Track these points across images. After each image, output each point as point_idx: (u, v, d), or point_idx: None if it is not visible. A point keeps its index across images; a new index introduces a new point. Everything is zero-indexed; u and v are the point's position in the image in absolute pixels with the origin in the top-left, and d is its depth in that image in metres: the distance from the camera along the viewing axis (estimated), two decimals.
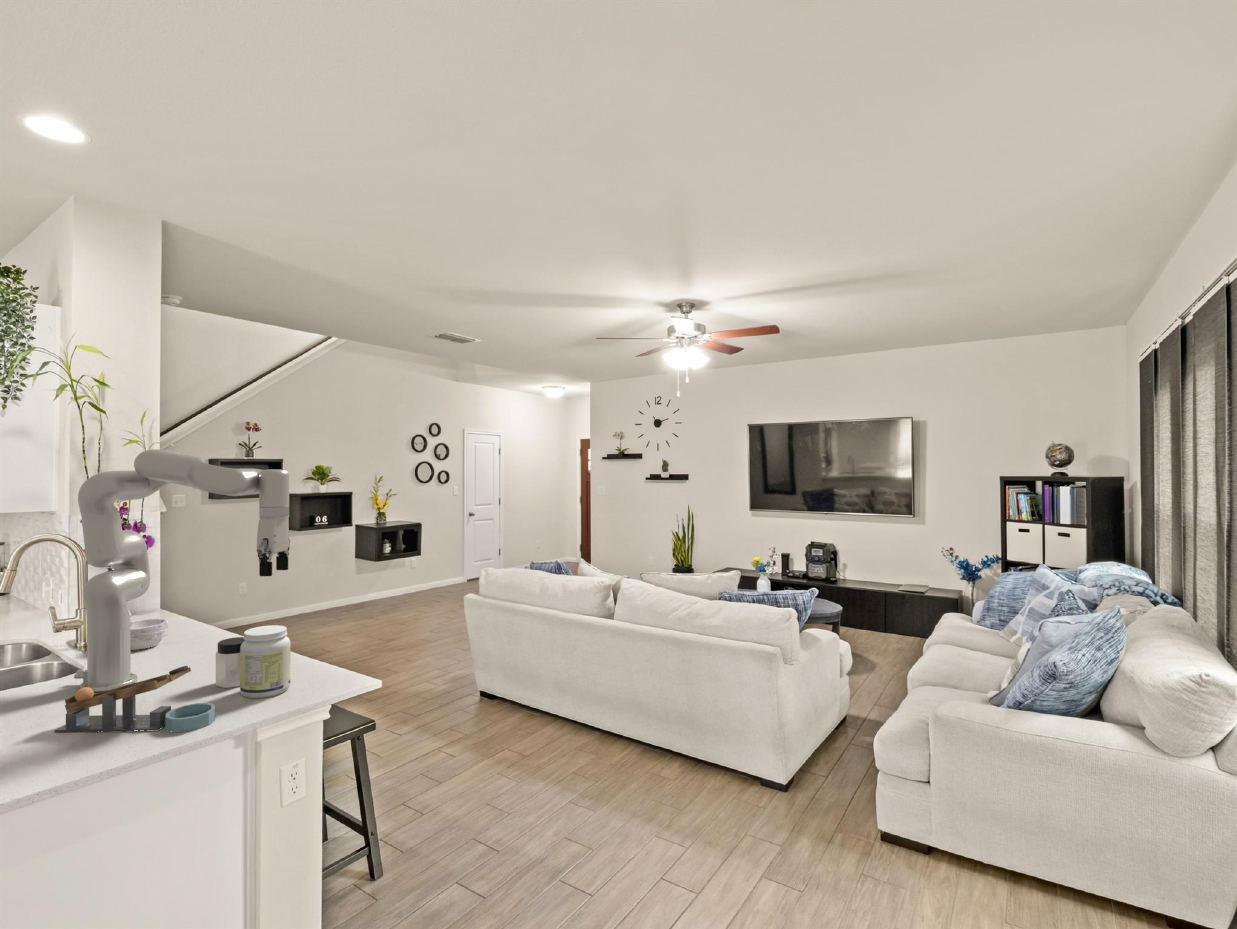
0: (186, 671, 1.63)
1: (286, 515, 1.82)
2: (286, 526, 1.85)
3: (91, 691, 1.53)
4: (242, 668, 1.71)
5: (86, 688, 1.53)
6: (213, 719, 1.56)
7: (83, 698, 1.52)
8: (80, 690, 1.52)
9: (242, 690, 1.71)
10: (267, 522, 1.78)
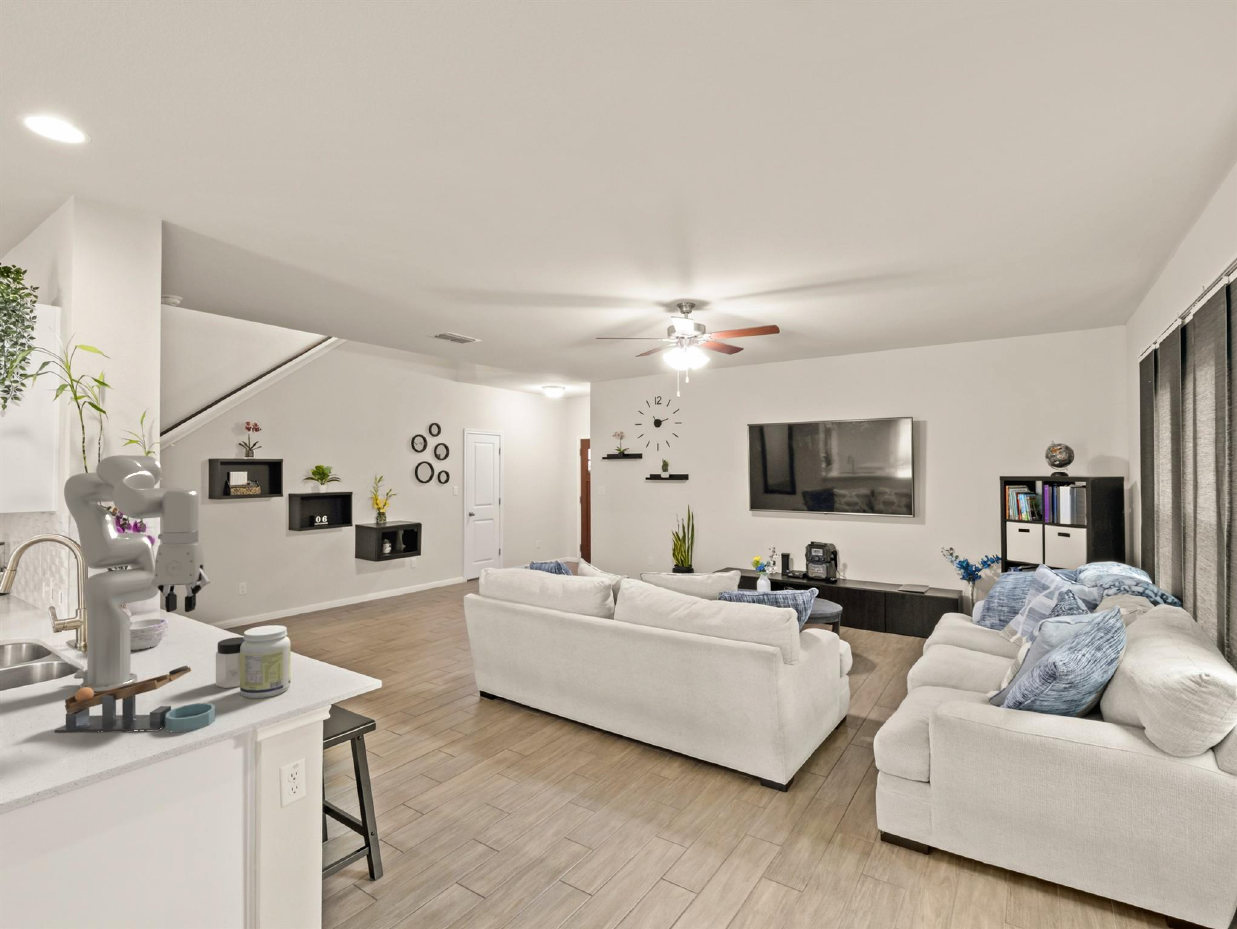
0: (186, 671, 1.63)
1: None
2: None
3: (91, 691, 1.53)
4: (242, 668, 1.71)
5: (86, 688, 1.53)
6: (213, 719, 1.56)
7: (83, 698, 1.52)
8: (80, 690, 1.52)
9: (242, 690, 1.71)
10: (200, 547, 1.63)
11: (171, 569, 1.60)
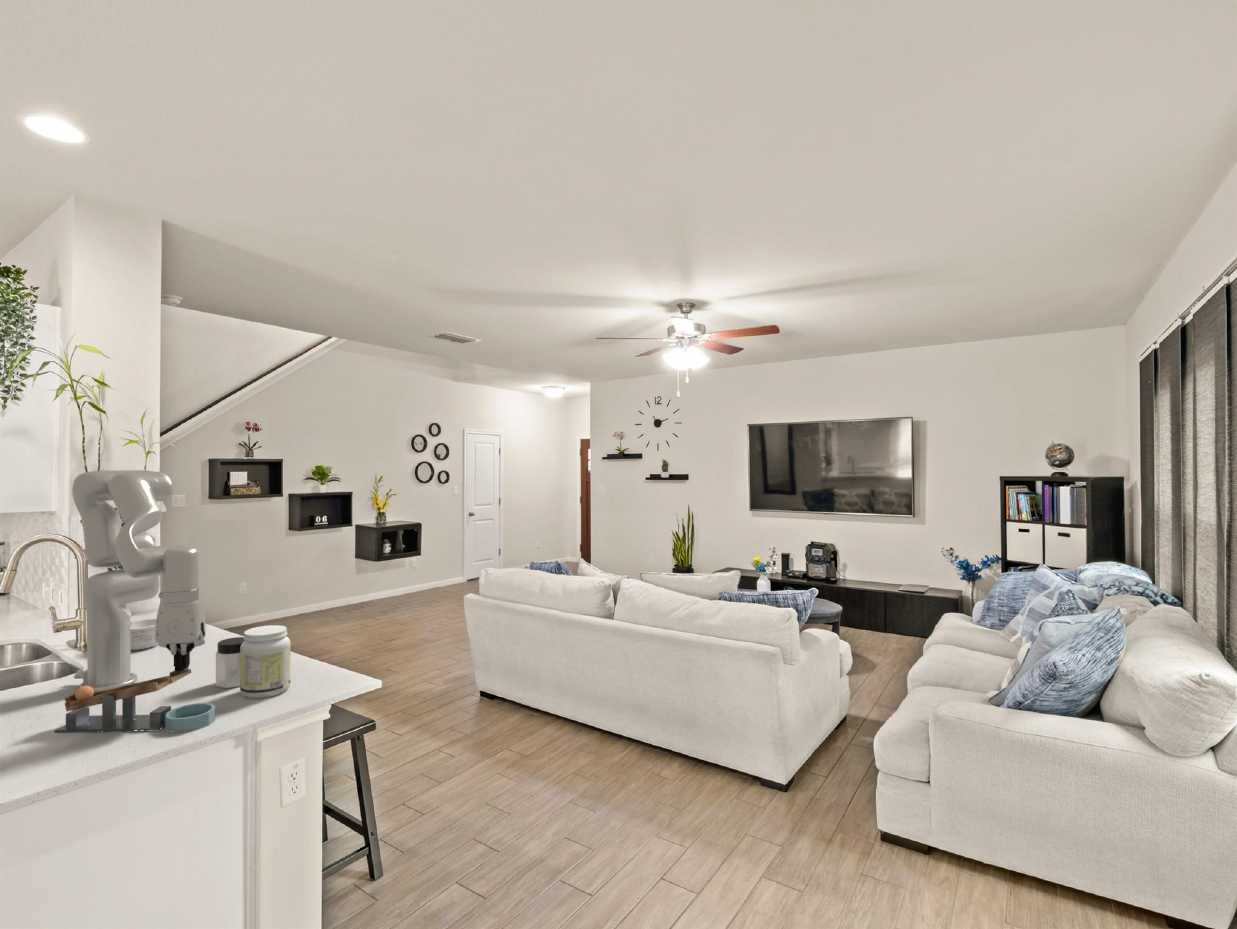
0: (186, 673, 1.63)
1: None
2: None
3: (91, 690, 1.53)
4: (242, 668, 1.71)
5: (87, 687, 1.53)
6: (213, 719, 1.56)
7: (83, 697, 1.52)
8: (80, 689, 1.52)
9: (242, 690, 1.71)
10: (200, 605, 1.63)
11: (172, 628, 1.60)
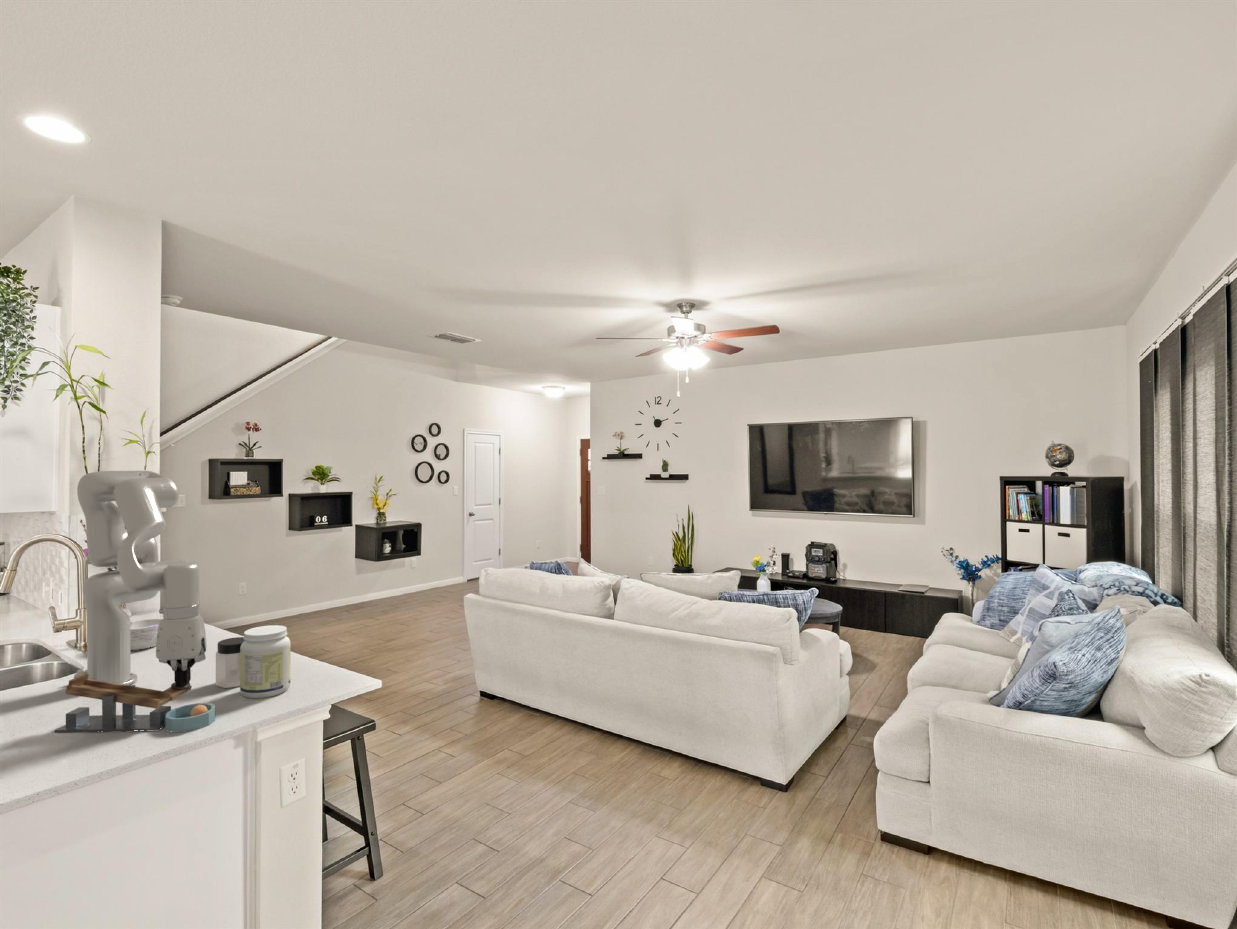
0: (187, 690, 1.63)
1: None
2: None
3: None
4: (242, 668, 1.71)
5: None
6: (213, 719, 1.56)
7: (193, 711, 1.53)
8: None
9: (242, 690, 1.71)
10: (201, 620, 1.63)
11: (173, 644, 1.60)
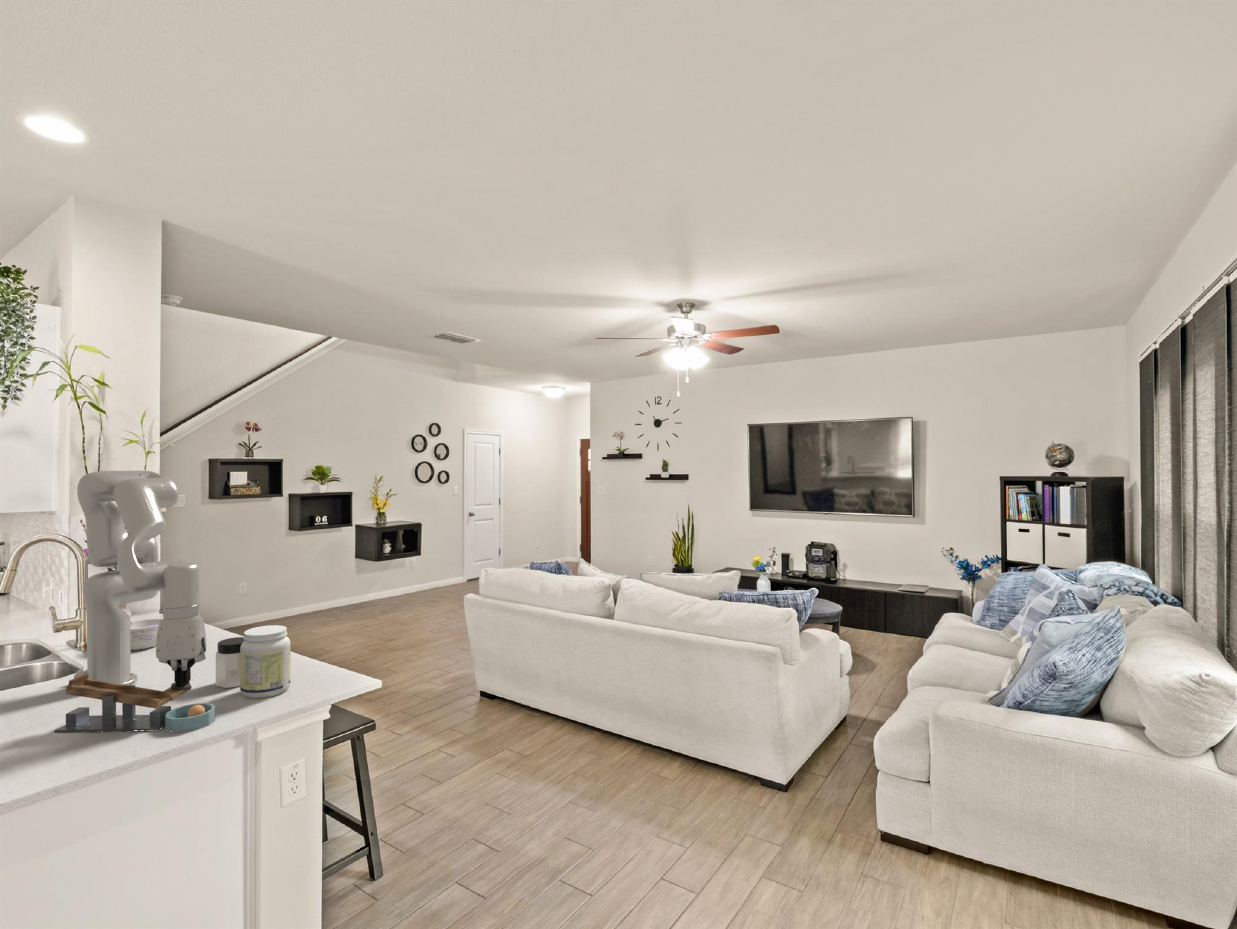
0: (187, 690, 1.63)
1: None
2: None
3: None
4: (242, 668, 1.71)
5: None
6: (213, 719, 1.56)
7: (189, 712, 1.53)
8: None
9: (242, 690, 1.71)
10: (201, 620, 1.63)
11: (173, 644, 1.60)
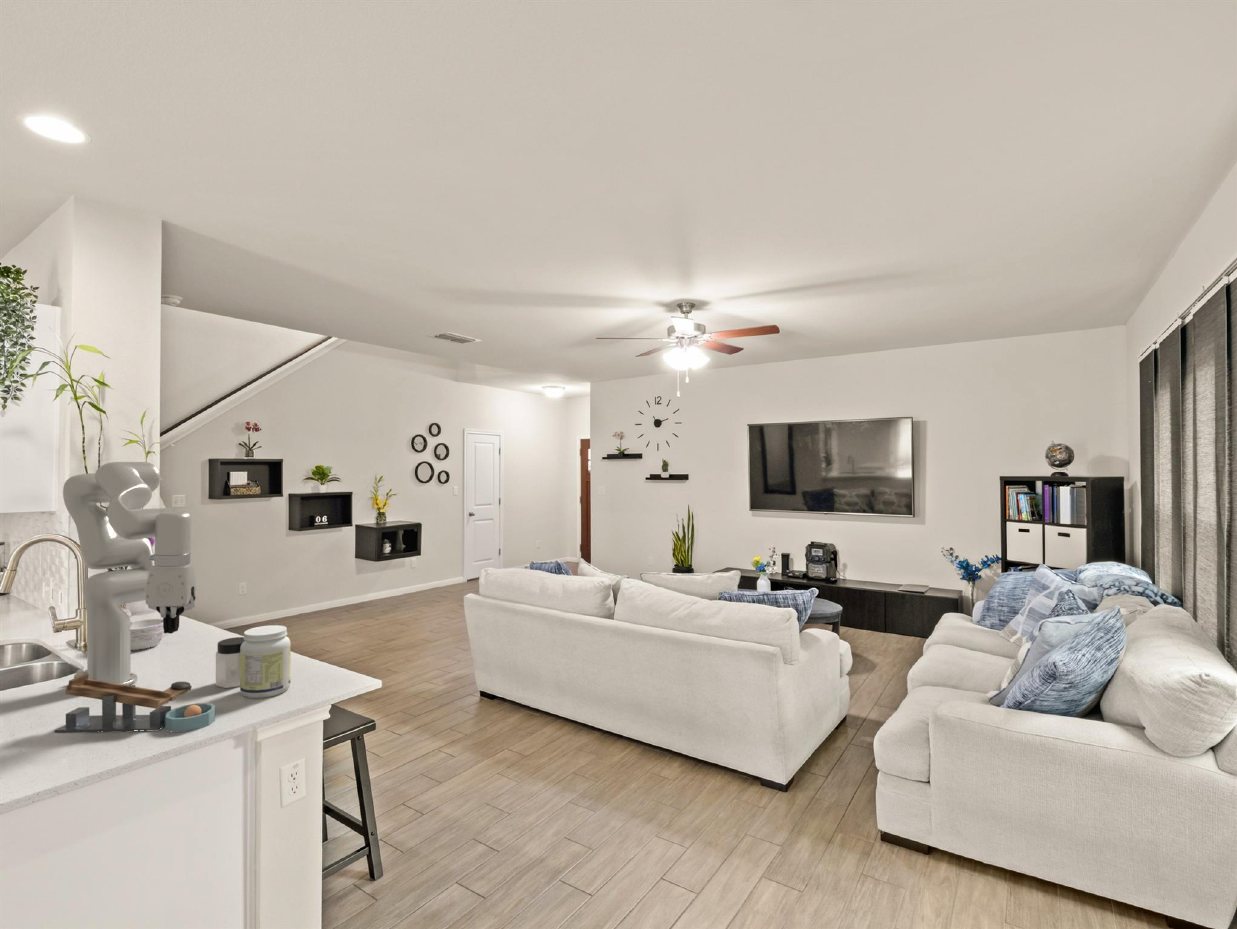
0: (187, 690, 1.63)
1: None
2: None
3: None
4: (242, 668, 1.71)
5: None
6: (213, 719, 1.56)
7: (185, 714, 1.53)
8: None
9: (242, 690, 1.71)
10: (191, 569, 1.64)
11: (162, 591, 1.61)
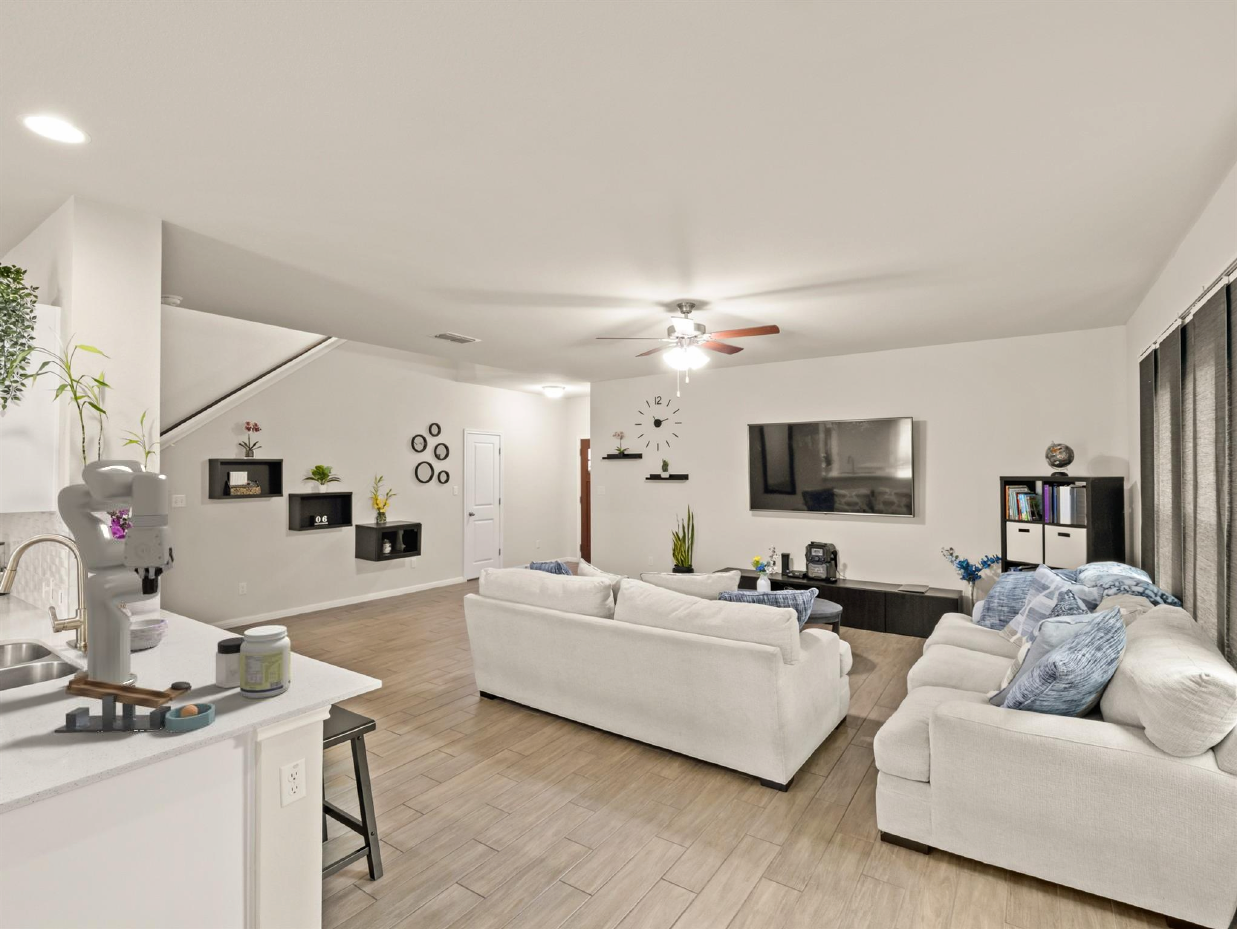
0: (187, 690, 1.63)
1: None
2: None
3: None
4: (242, 668, 1.71)
5: None
6: (213, 719, 1.56)
7: (181, 716, 1.53)
8: None
9: (242, 690, 1.71)
10: (169, 530, 1.65)
11: (140, 552, 1.62)
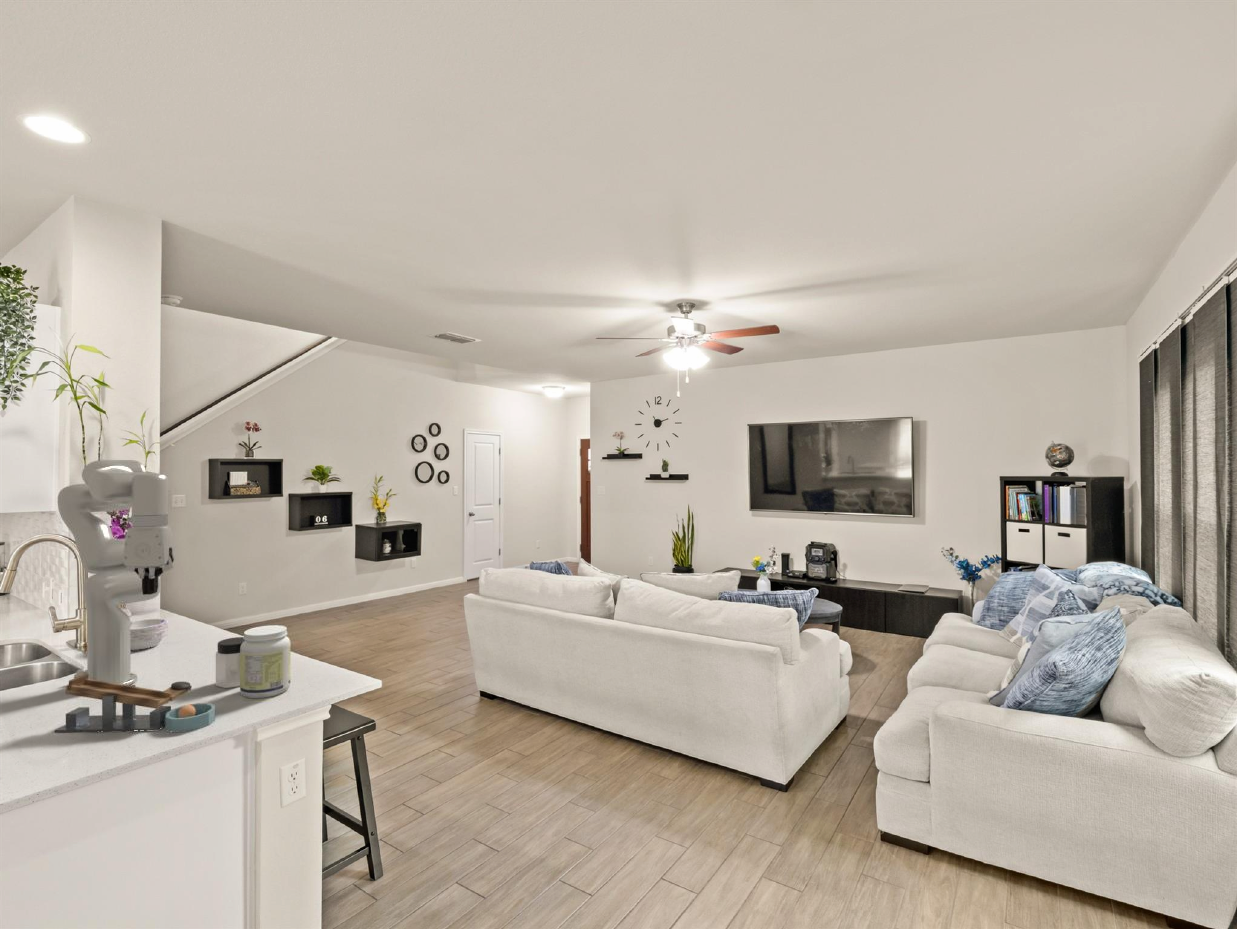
0: (187, 690, 1.63)
1: None
2: None
3: None
4: (242, 668, 1.71)
5: None
6: (213, 719, 1.56)
7: (179, 717, 1.53)
8: None
9: (242, 690, 1.71)
10: (169, 530, 1.65)
11: (140, 552, 1.62)
